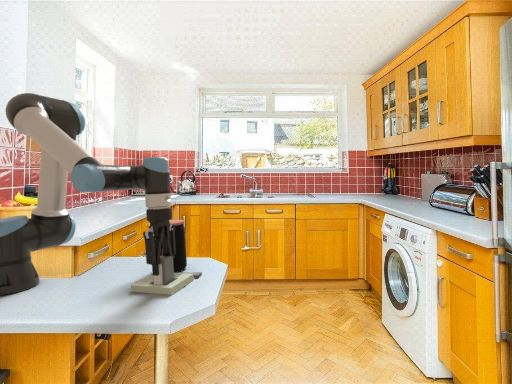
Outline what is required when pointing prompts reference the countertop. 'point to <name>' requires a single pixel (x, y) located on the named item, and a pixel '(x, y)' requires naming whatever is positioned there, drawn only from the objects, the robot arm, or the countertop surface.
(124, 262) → the countertop surface
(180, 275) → the outlet plate
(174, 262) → the coffee jar
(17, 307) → the countertop surface
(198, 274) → the phone
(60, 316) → the countertop surface
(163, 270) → the block
